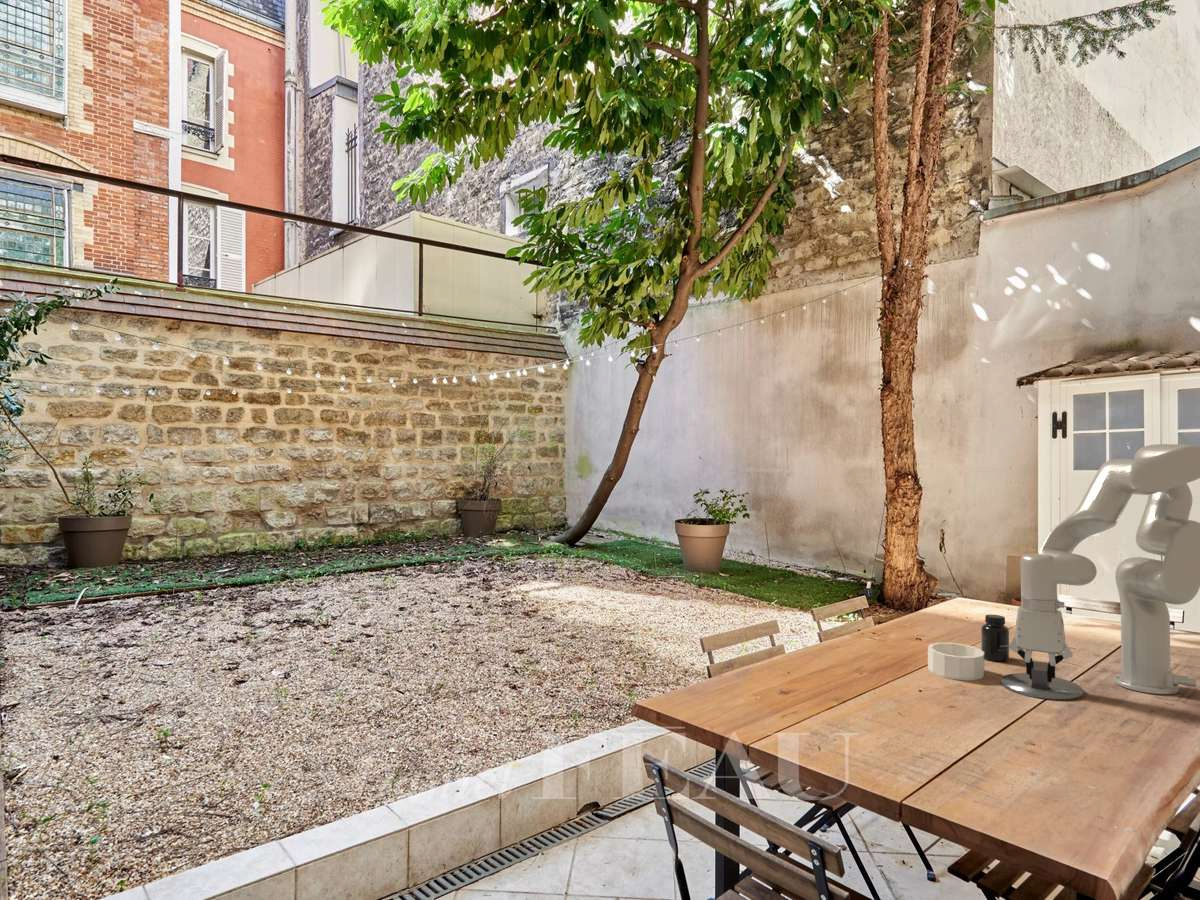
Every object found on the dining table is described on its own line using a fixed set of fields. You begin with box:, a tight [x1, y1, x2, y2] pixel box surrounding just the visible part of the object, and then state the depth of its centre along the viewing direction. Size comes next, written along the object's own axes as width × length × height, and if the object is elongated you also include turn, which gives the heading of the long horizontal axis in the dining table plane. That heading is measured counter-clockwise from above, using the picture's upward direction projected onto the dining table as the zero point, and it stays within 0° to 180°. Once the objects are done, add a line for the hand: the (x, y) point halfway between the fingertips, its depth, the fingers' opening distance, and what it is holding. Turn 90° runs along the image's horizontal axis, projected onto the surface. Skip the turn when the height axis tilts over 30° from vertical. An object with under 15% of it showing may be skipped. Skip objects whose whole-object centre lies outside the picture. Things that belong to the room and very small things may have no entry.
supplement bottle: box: [980, 614, 1010, 663], centre depth 193 cm, size 7×7×12 cm
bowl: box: [927, 642, 985, 681], centre depth 182 cm, size 13×13×6 cm
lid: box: [1000, 660, 1084, 701], centre depth 169 cm, size 17×17×5 cm
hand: (1040, 678), depth 169 cm, fingers closed on lid, 3 cm apart
